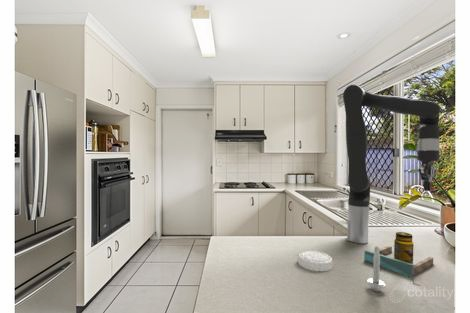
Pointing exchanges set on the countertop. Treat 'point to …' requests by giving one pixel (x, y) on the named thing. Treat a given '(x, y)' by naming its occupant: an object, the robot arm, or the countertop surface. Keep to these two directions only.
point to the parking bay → (397, 262)
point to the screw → (376, 273)
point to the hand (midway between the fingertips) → (427, 190)
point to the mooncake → (315, 261)
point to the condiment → (403, 247)
